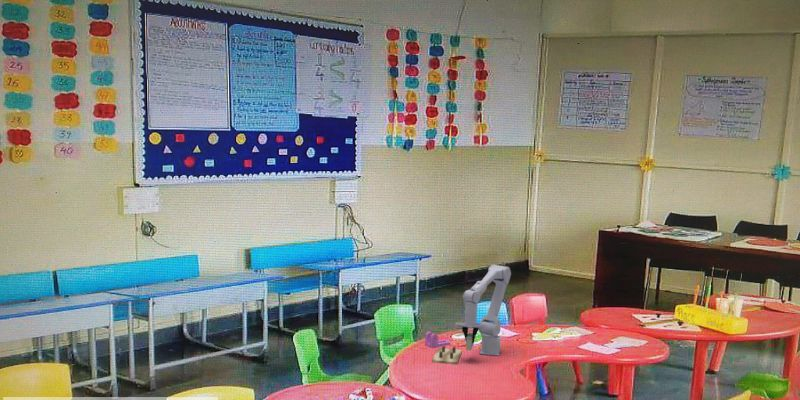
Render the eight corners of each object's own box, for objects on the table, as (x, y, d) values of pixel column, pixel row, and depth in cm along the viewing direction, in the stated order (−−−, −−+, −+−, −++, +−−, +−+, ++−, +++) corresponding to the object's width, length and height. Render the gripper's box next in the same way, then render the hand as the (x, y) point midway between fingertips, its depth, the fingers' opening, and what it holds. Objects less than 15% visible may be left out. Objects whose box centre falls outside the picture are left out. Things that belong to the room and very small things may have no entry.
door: (473, 344, 358) (473, 332, 357) (471, 350, 348) (471, 338, 348) (468, 343, 358) (468, 331, 358) (466, 349, 349) (466, 337, 348)
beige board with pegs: (462, 351, 367) (462, 344, 367) (457, 364, 347) (457, 357, 347) (438, 349, 369) (438, 342, 369) (432, 362, 350) (432, 354, 349)
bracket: (431, 348, 372) (431, 334, 372) (425, 345, 377) (425, 332, 376) (452, 344, 379) (452, 331, 379) (445, 341, 384) (446, 328, 383)
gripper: (454, 316, 350) (453, 343, 351) (485, 318, 347) (484, 346, 348) (456, 312, 356) (455, 339, 358) (486, 314, 354) (485, 342, 355)
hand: (469, 342), depth 353 cm, fingers closed on door, 2 cm apart
